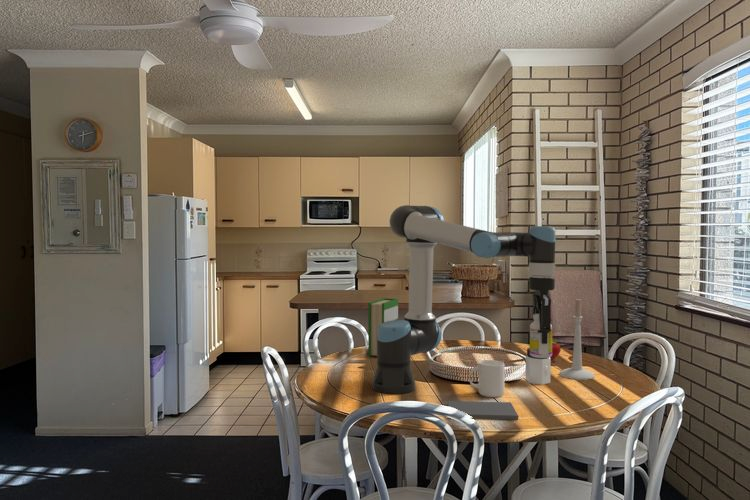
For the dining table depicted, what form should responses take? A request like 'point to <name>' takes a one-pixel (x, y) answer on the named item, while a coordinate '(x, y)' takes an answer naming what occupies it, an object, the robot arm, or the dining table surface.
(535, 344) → the supplement bottle
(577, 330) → the candlestick
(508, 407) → the mat
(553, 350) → the strawberry
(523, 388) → the dining table surface
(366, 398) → the dining table surface
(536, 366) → the jar
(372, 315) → the hardback book
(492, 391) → the mug
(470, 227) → the robot arm
